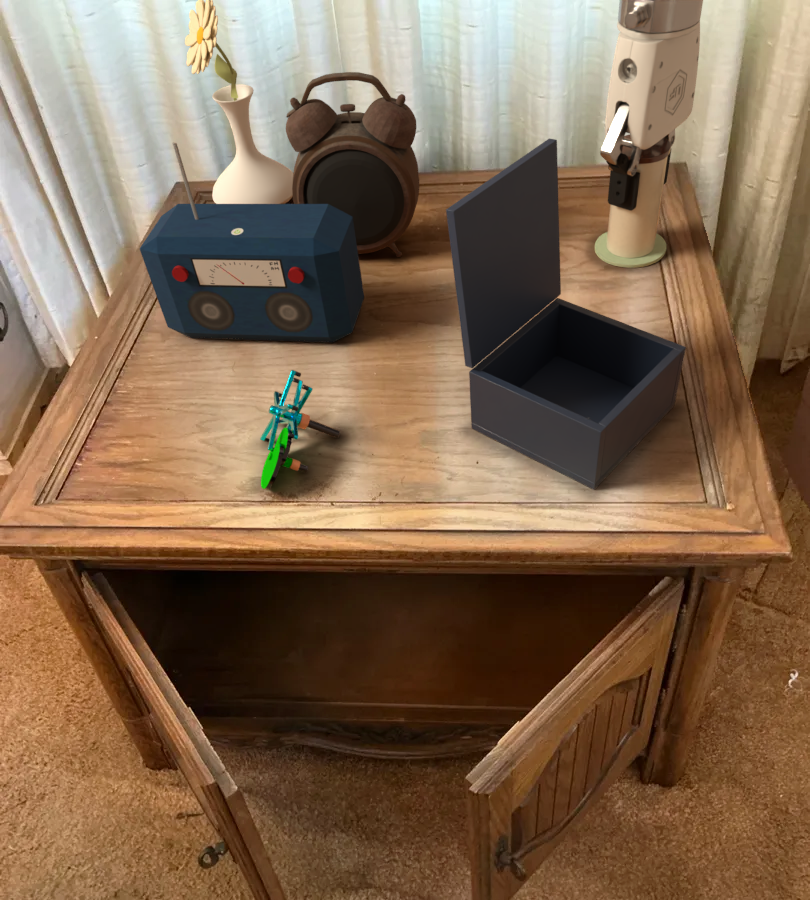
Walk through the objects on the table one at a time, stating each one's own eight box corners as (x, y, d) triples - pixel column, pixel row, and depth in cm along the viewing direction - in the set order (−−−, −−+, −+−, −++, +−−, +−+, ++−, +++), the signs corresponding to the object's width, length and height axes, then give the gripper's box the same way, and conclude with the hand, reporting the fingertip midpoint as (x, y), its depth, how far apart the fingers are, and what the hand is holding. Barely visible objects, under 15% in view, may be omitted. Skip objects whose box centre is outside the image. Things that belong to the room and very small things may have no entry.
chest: (674, 405, 80) (686, 346, 75) (594, 490, 74) (601, 432, 69) (554, 355, 86) (557, 297, 81) (471, 428, 80) (468, 371, 75)
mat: (665, 230, 99) (665, 227, 99) (666, 268, 94) (667, 265, 94) (595, 229, 101) (596, 226, 100) (593, 267, 96) (593, 264, 95)
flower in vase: (217, 186, 116) (161, -23, 98) (299, 175, 116) (259, -36, 98) (213, 235, 108) (150, 17, 89) (301, 223, 108) (258, 2, 89)
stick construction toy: (264, 390, 83) (292, 352, 76) (329, 414, 86) (362, 380, 79) (239, 499, 78) (268, 468, 72) (309, 522, 81) (342, 494, 75)
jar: (656, 232, 99) (670, 132, 90) (656, 259, 95) (671, 158, 86) (605, 231, 100) (614, 132, 91) (603, 258, 96) (613, 158, 87)
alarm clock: (302, 271, 101) (266, 95, 86) (310, 238, 105) (277, 66, 90) (424, 265, 99) (409, 85, 84) (427, 232, 104) (413, 56, 89)
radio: (167, 345, 93) (101, 167, 78) (192, 299, 99) (136, 124, 84) (351, 351, 90) (319, 166, 75) (367, 302, 95) (341, 121, 80)
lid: (557, 139, 70) (549, 138, 71) (453, 211, 64) (445, 209, 65) (561, 294, 81) (554, 292, 81) (472, 368, 74) (465, 366, 75)
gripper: (647, 47, 73) (624, 239, 87) (742, -16, 81) (707, 169, 95) (573, 32, 77) (563, 219, 91) (671, -27, 84) (647, 153, 98)
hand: (637, 192), depth 92 cm, fingers closed on jar, 5 cm apart
